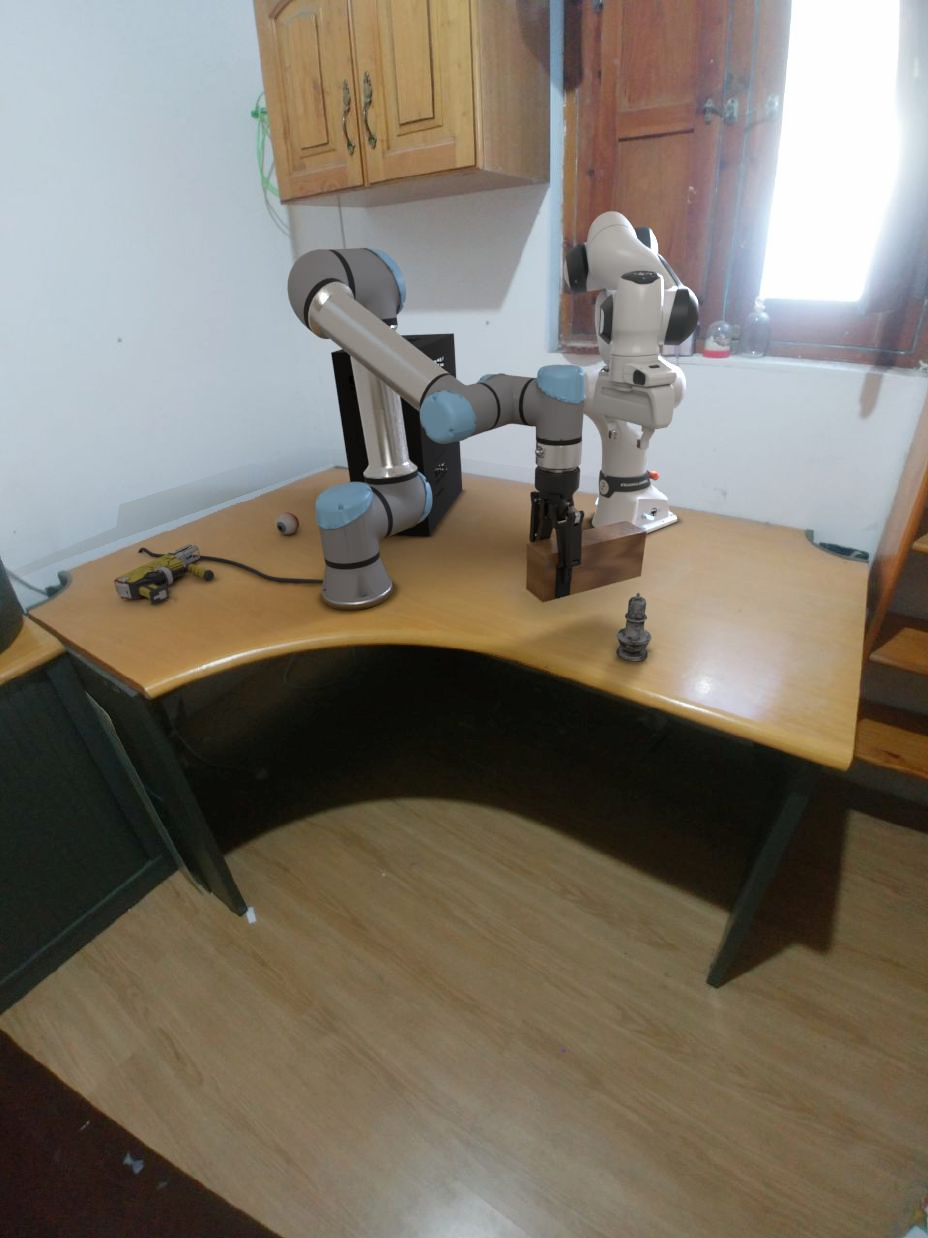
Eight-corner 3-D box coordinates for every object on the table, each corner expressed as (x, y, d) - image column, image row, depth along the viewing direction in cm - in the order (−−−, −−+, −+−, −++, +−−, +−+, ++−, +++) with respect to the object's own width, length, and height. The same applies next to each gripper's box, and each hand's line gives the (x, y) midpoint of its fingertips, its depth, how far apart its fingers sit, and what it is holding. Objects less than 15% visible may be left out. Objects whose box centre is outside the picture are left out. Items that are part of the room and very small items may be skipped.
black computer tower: (429, 535, 159) (413, 350, 136) (357, 532, 163) (331, 352, 141) (462, 490, 190) (453, 333, 168) (401, 488, 195) (385, 335, 172)
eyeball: (273, 537, 164) (268, 516, 161) (287, 528, 169) (282, 508, 166) (291, 539, 161) (286, 518, 158) (305, 530, 166) (301, 510, 163)
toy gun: (236, 552, 148) (186, 541, 152) (163, 592, 128) (107, 579, 132) (239, 569, 150) (189, 559, 154) (167, 611, 130) (112, 598, 134)
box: (621, 564, 121) (626, 520, 116) (641, 576, 116) (646, 530, 112) (525, 589, 114) (526, 543, 109) (542, 602, 109) (544, 555, 104)
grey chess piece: (650, 663, 103) (658, 601, 97) (615, 660, 105) (620, 600, 99) (648, 644, 108) (655, 585, 102) (614, 642, 110) (620, 583, 104)
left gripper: (510, 455, 107) (510, 573, 118) (570, 485, 92) (563, 616, 103) (546, 449, 109) (543, 564, 121) (611, 477, 94) (599, 606, 106)
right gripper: (587, 365, 121) (583, 435, 128) (655, 378, 105) (647, 457, 112) (613, 362, 123) (608, 431, 130) (683, 373, 107) (674, 451, 114)
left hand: (552, 588), depth 112 cm, fingers closed on box, 6 cm apart
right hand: (626, 443), depth 121 cm, fingers open, 8 cm apart
